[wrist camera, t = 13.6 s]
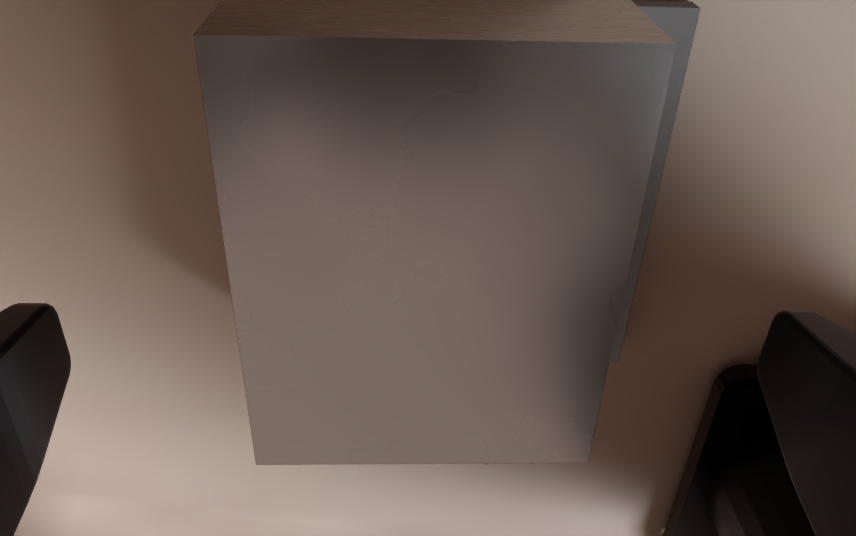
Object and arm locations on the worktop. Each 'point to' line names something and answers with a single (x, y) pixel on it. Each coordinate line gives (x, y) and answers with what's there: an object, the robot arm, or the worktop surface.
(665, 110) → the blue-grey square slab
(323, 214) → the grey rectangular box
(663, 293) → the worktop surface
